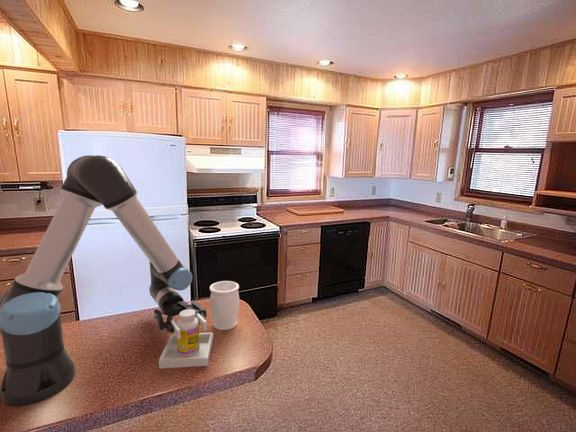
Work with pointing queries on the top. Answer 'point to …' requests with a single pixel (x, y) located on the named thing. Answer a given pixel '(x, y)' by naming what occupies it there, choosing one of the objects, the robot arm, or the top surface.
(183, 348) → the supplement bottle
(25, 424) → the top surface
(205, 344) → the tray
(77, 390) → the top surface
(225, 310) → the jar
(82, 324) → the top surface
